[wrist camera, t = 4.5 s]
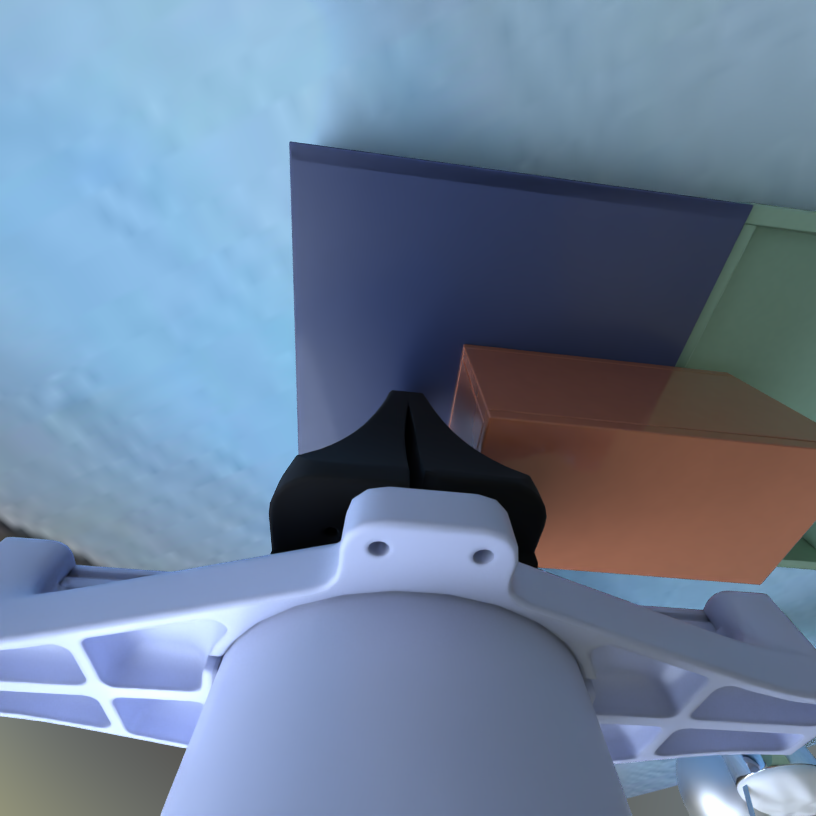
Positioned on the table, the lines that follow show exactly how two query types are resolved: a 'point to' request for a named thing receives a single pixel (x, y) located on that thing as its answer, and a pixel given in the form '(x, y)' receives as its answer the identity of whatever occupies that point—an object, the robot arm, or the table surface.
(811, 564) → the tray
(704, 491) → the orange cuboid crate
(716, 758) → the ghost figurine
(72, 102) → the table surface
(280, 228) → the table surface
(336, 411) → the book
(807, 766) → the milkshake
